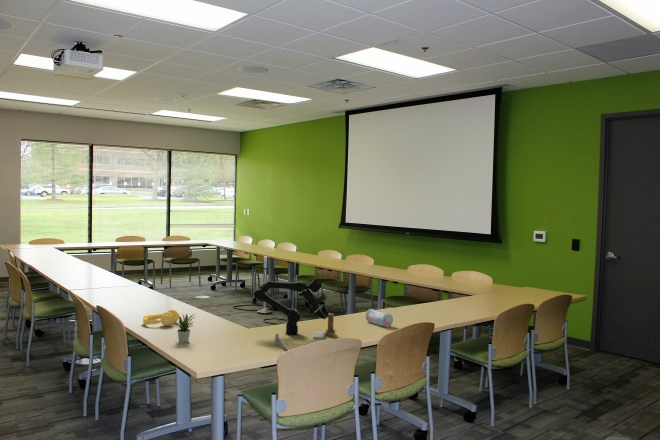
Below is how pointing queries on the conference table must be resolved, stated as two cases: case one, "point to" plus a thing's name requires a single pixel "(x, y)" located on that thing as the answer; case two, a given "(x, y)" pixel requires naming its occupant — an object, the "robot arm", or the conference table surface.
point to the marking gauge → (330, 325)
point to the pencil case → (379, 318)
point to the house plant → (184, 328)
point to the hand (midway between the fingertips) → (327, 317)
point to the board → (319, 335)
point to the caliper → (280, 342)
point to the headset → (162, 318)
